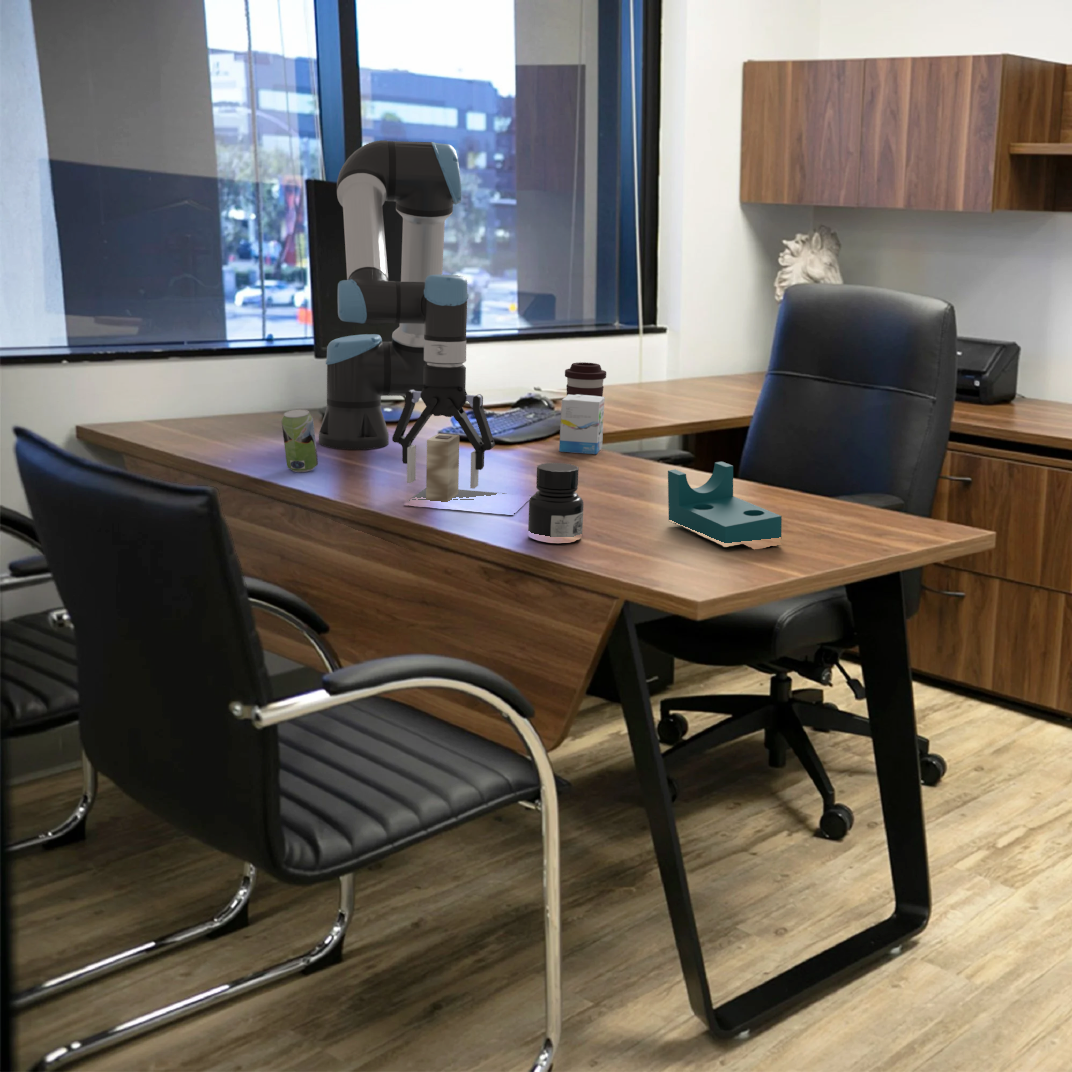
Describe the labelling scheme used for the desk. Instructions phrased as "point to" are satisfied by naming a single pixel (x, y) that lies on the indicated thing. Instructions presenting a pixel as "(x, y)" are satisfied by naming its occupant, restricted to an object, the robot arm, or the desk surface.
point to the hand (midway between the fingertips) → (442, 484)
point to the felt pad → (460, 494)
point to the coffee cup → (585, 379)
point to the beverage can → (299, 440)
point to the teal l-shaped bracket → (719, 508)
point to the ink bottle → (556, 502)
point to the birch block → (442, 467)
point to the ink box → (581, 424)
